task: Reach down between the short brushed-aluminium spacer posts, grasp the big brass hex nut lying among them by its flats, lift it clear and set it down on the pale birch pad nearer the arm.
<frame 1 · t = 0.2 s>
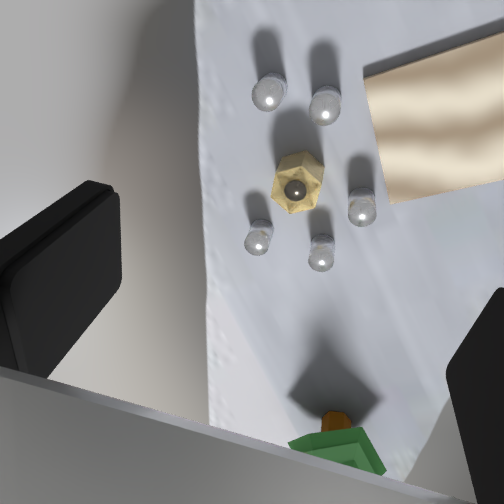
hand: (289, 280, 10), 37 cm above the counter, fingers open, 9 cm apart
brass nut: (300, 173, 47), on the counter
decorative tree: (336, 418, 70), on the counter
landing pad: (447, 124, 41), on the counter
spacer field: (300, 173, 47), on the counter
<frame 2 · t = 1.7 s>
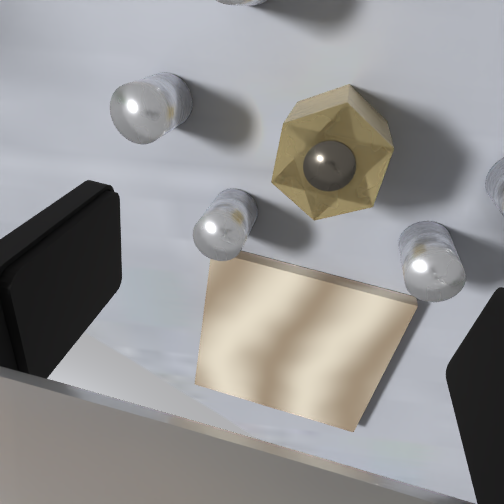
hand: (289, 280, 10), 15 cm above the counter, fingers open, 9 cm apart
brass nut: (334, 137, 23), on the counter
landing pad: (291, 341, 31), on the counter
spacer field: (334, 137, 23), on the counter
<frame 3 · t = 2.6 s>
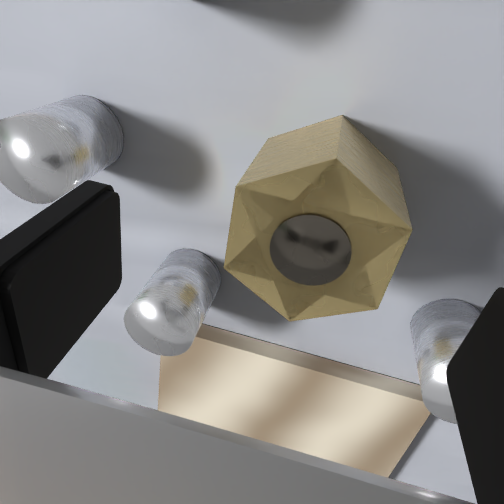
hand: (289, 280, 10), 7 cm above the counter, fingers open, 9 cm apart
brass nut: (322, 187, 16), on the counter
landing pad: (271, 429, 25), on the counter
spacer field: (321, 188, 16), on the counter
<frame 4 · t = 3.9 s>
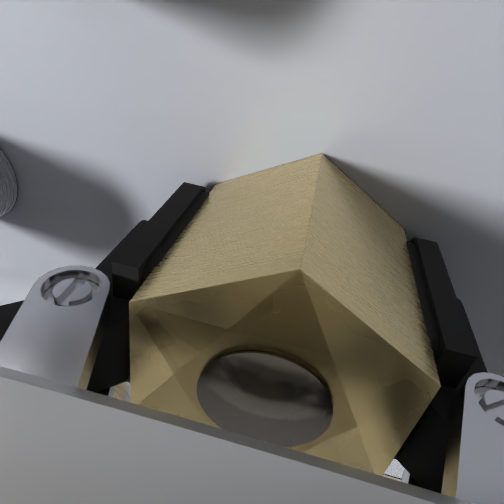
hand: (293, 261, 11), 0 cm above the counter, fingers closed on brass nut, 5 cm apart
brass nut: (295, 252, 11), on the counter, touching gripper
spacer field: (295, 252, 11), on the counter
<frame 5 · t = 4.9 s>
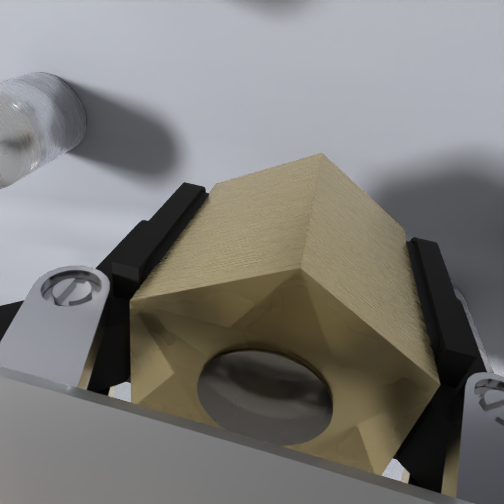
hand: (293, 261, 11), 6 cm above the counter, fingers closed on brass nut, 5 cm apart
brass nut: (295, 251, 11), point 5 cm above the counter, touching gripper
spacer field: (296, 167, 15), on the counter
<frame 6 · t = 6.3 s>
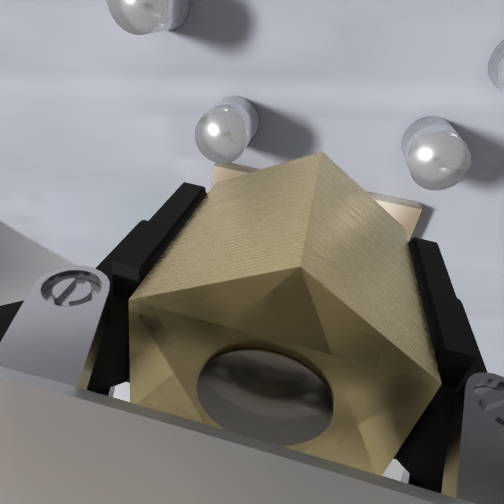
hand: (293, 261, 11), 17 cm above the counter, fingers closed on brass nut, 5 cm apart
brass nut: (296, 250, 11), point 16 cm above the counter, touching gripper
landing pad: (296, 263, 31), on the counter
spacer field: (334, 29, 22), on the counter
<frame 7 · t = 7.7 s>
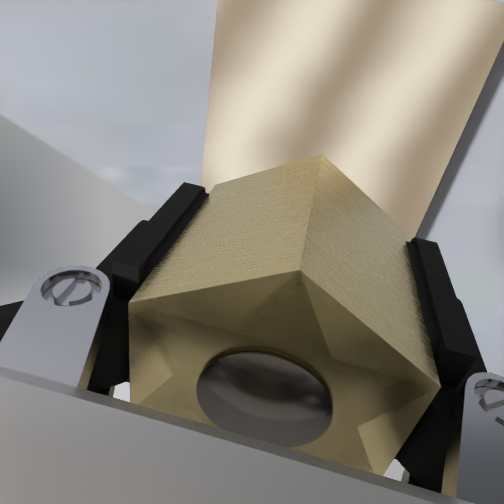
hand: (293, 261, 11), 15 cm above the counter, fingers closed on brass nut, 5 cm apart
brass nut: (295, 252, 11), point 15 cm above the counter, touching gripper
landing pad: (327, 122, 23), on the counter
when the fingers open (3 cm above the counter, at t = 10.1 s): brass nut drops 1 cm, resting on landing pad.
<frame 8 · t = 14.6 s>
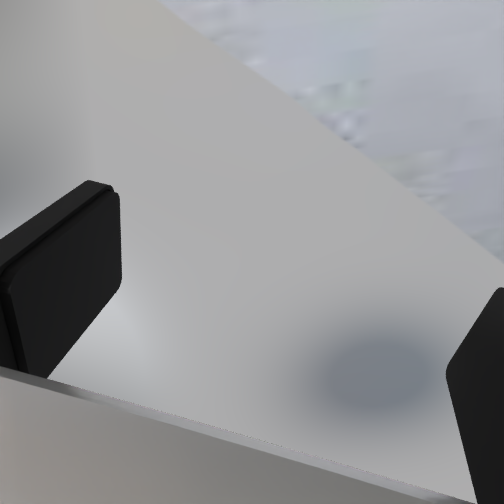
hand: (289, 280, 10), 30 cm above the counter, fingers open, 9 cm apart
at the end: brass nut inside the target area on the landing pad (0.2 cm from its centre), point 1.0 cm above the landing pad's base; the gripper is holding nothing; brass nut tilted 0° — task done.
